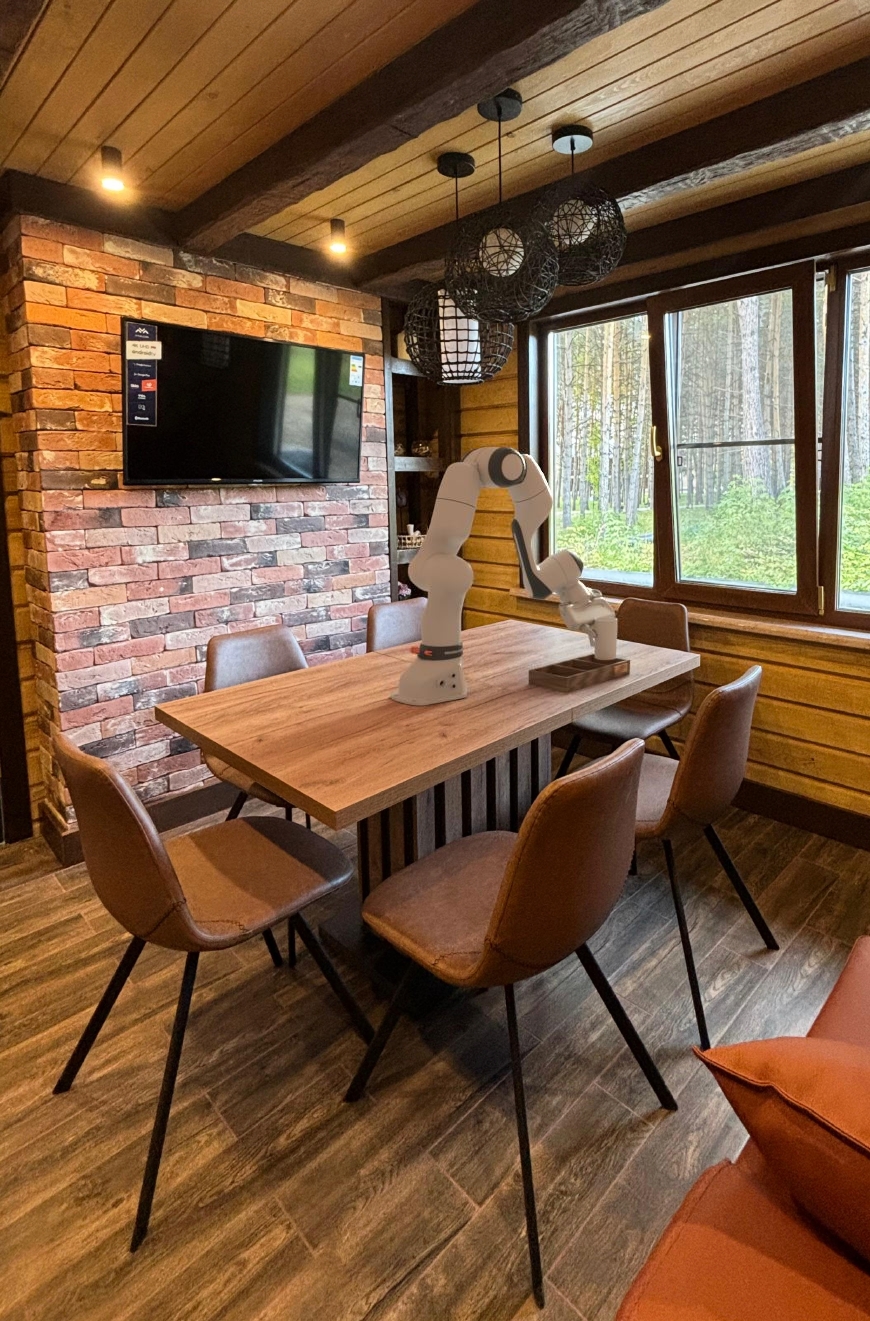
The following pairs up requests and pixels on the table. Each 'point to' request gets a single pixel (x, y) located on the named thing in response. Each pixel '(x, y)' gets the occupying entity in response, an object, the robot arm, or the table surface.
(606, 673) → the tray
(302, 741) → the table surface
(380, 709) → the table surface
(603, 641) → the mug
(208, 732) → the table surface
